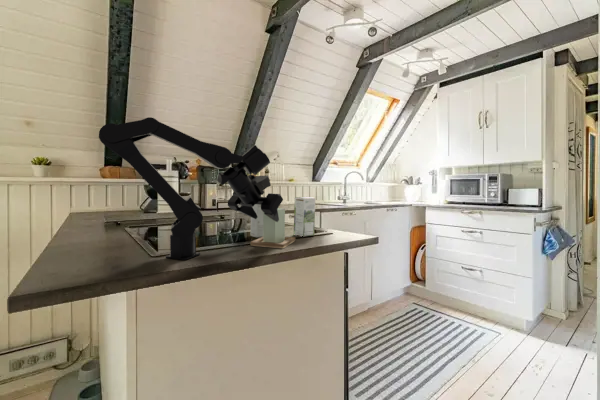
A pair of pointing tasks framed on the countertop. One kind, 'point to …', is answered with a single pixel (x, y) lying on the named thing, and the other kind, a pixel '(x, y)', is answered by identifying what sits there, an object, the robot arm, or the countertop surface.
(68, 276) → the countertop surface
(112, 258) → the countertop surface
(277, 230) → the pale green tall block
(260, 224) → the skincare box
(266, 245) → the groove board
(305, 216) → the syrup box
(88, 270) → the countertop surface
